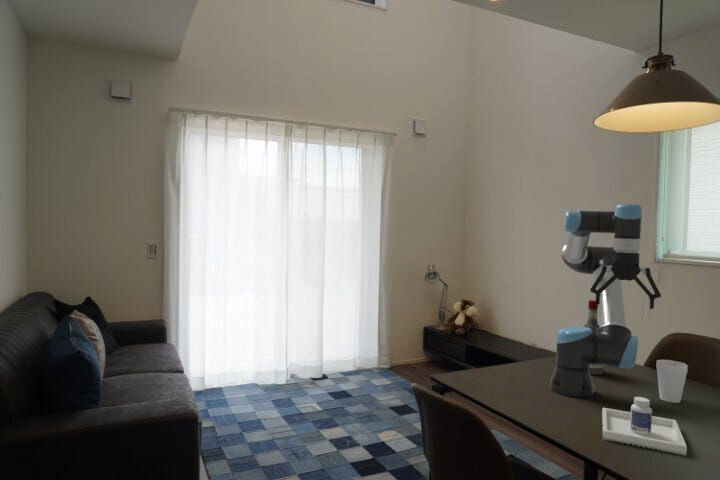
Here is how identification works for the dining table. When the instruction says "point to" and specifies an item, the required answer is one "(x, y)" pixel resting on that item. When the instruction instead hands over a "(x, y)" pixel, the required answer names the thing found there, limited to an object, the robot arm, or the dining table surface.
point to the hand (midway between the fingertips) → (623, 316)
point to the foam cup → (671, 379)
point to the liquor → (593, 326)
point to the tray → (661, 436)
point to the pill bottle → (641, 416)
